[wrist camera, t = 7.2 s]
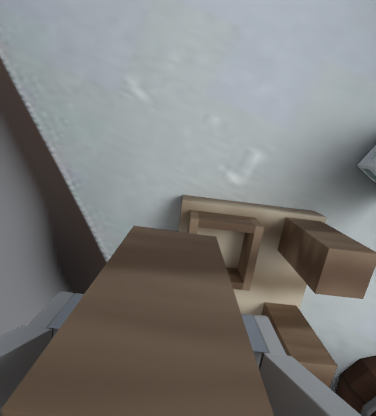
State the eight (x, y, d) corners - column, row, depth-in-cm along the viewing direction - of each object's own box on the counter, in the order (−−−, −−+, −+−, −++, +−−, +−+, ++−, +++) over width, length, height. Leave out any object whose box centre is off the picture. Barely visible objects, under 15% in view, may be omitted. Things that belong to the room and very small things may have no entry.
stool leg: (133, 225, 11) (1, 408, 3) (216, 236, 11) (280, 437, 3) (127, 298, 12) (14, 573, 4) (203, 307, 12) (231, 590, 4)
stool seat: (182, 195, 27) (180, 224, 17) (314, 211, 28) (388, 249, 17) (168, 309, 31) (159, 387, 21) (283, 321, 32) (328, 403, 22)
